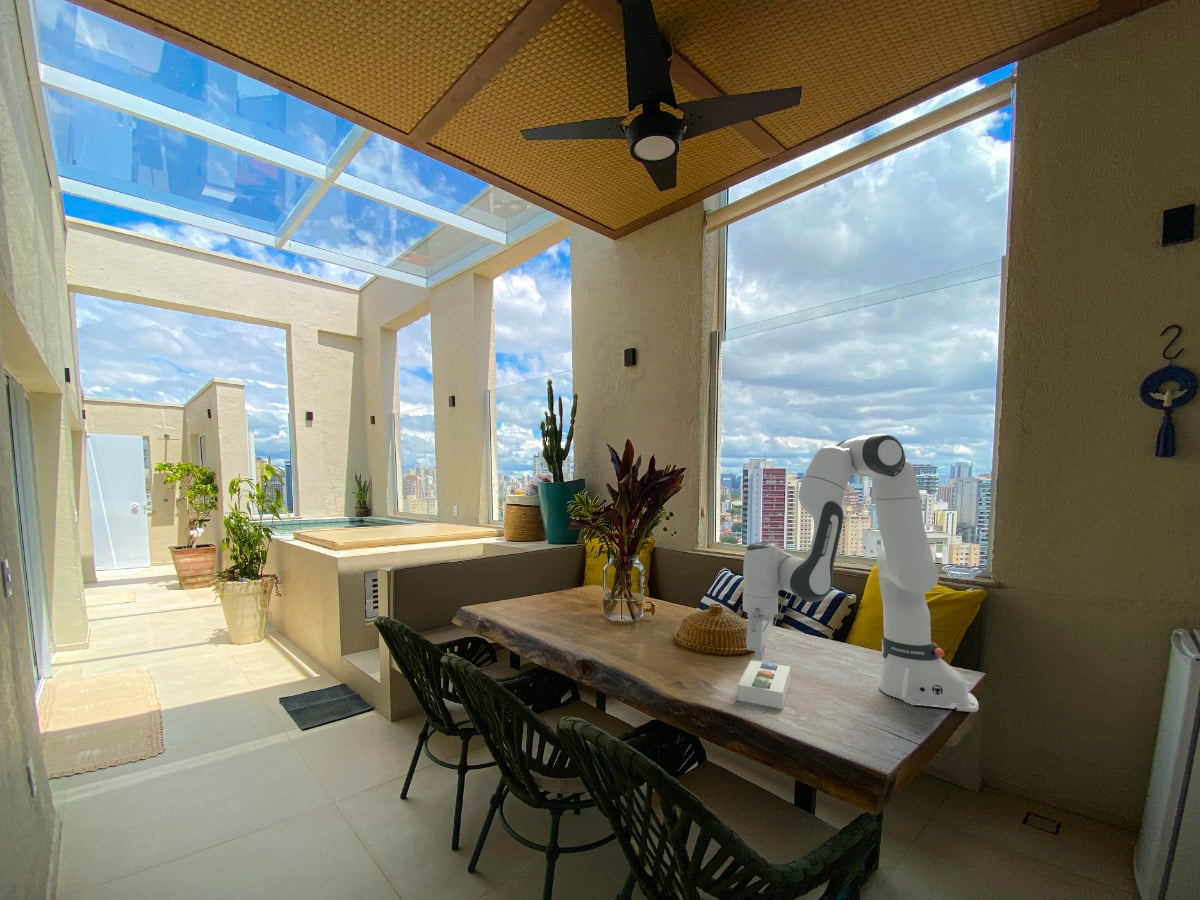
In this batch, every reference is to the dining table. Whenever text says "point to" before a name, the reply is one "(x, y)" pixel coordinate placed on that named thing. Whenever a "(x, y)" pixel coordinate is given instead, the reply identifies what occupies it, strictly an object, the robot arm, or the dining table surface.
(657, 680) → the dining table surface
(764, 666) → the blue button
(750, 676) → the button console
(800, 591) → the robot arm
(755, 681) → the sage button
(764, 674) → the terracotta button
